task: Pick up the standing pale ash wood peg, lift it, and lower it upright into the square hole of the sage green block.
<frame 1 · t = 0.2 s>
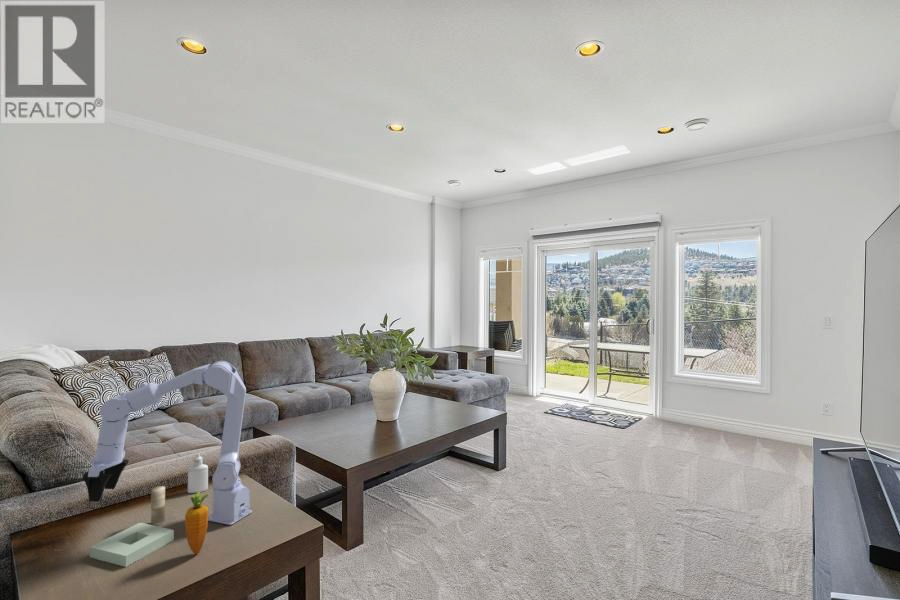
hand: (102, 494, 112), 11 cm above the table, tool pointing down, fingers open, 7 cm apart
hole block: (133, 548, 106), on the table
eye dropper bottle: (197, 491, 139), on the table
carrot: (196, 555, 104), on the table
ash wood peg: (157, 522, 119), on the table
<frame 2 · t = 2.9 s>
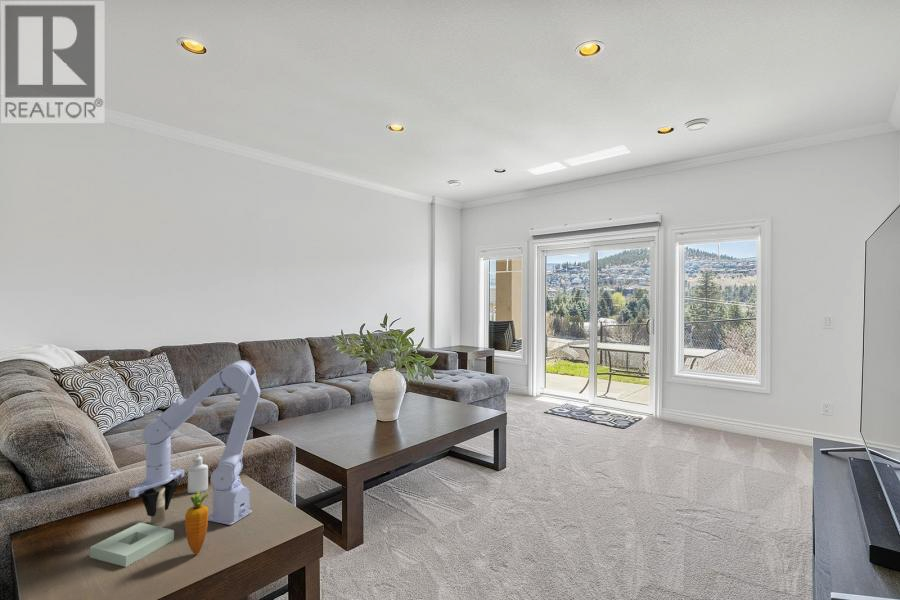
hand: (158, 512, 119), 3 cm above the table, tool pointing down, fingers closed on ash wood peg, 3 cm apart
ash wood peg: (157, 522, 119), on the table, touching gripper
everything else where it was.
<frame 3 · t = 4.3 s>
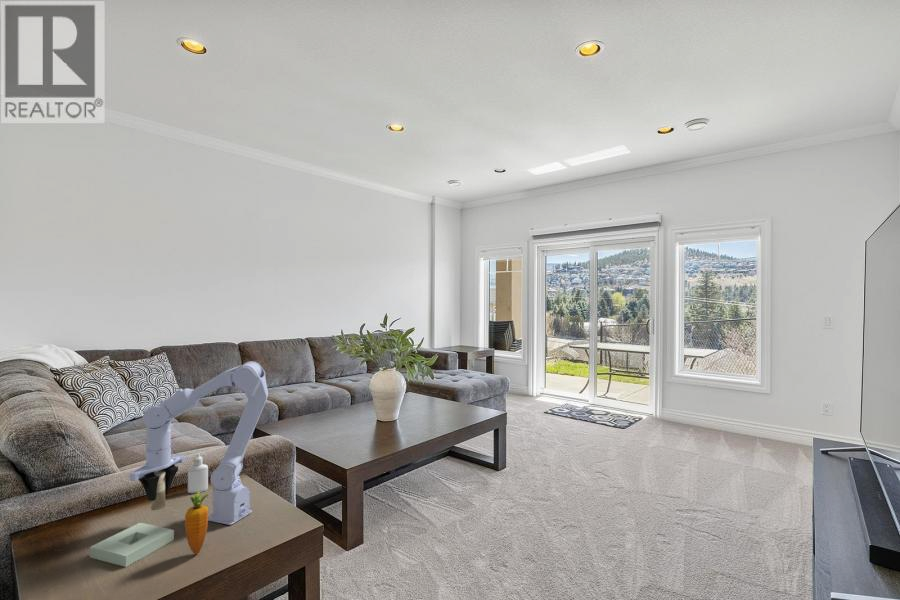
hand: (158, 496, 119), 7 cm above the table, tool pointing down, fingers closed on ash wood peg, 3 cm apart
ash wood peg: (158, 507, 119), point 4 cm above the table, touching gripper
everything else where it was.
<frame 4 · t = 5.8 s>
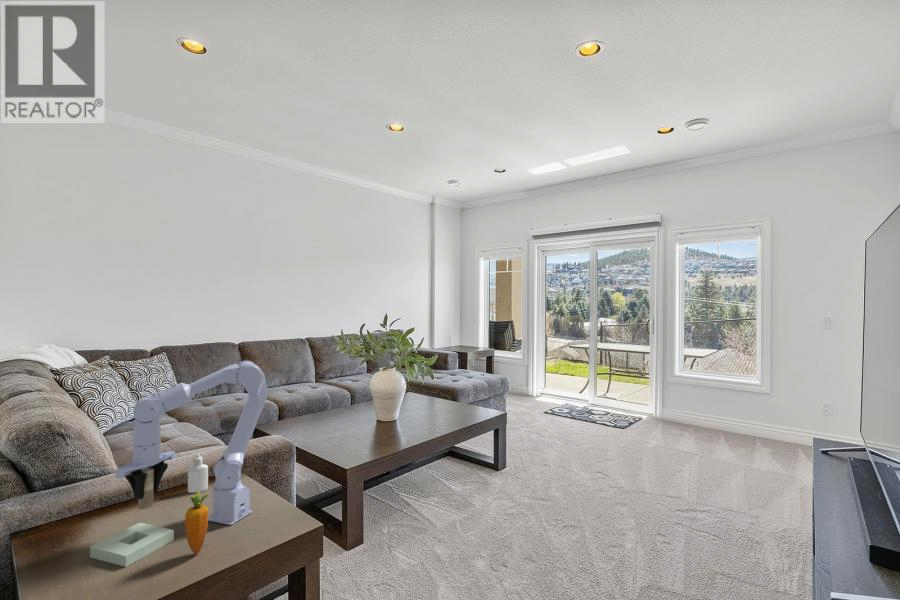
hand: (146, 495, 112), 10 cm above the table, tool pointing down, fingers closed on ash wood peg, 3 cm apart
ash wood peg: (146, 506, 112), point 8 cm above the table, touching gripper
everything else where it was.
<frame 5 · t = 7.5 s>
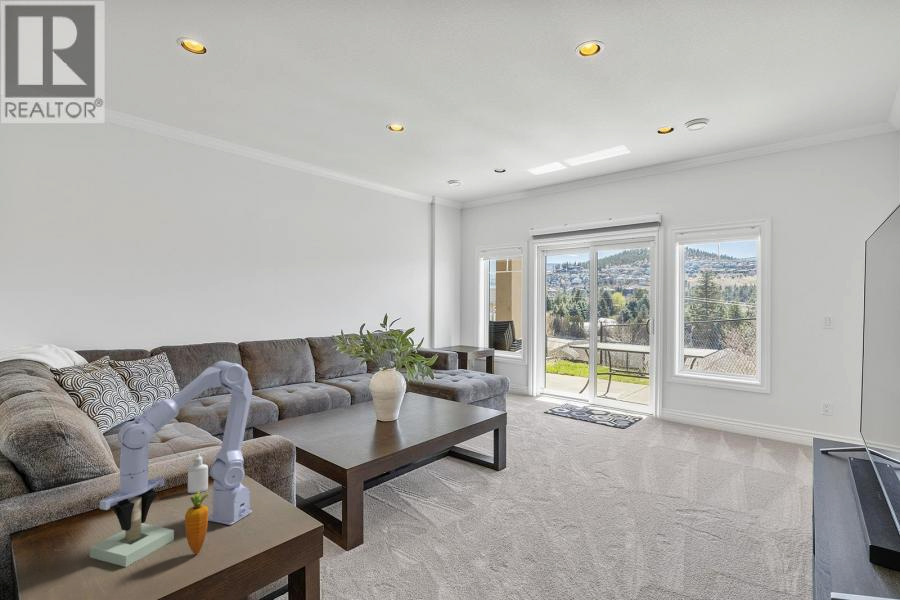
hand: (133, 525, 106), 6 cm above the table, tool pointing down, fingers closed on ash wood peg, 3 cm apart
ash wood peg: (133, 537, 106), point 3 cm above the table, touching gripper
everything else where it was.
when the fingers open (4 cm above the table, at t = 8.9 s): ash wood peg drops 1 cm, resting in hole block.
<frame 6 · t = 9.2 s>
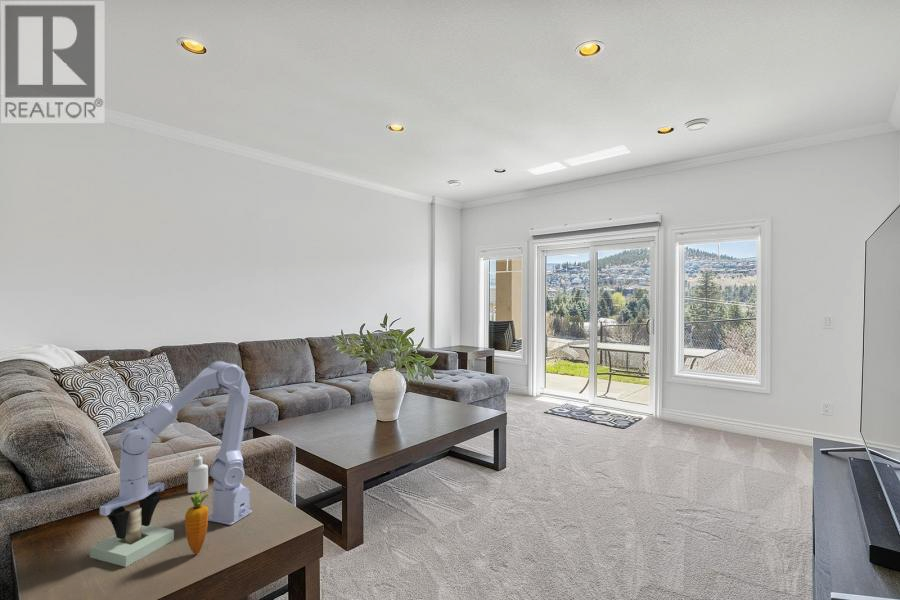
hand: (133, 531, 106), 4 cm above the table, tool pointing down, fingers open, 5 cm apart
ash wood peg: (133, 548, 106), resting in hole block
everything else where it was.
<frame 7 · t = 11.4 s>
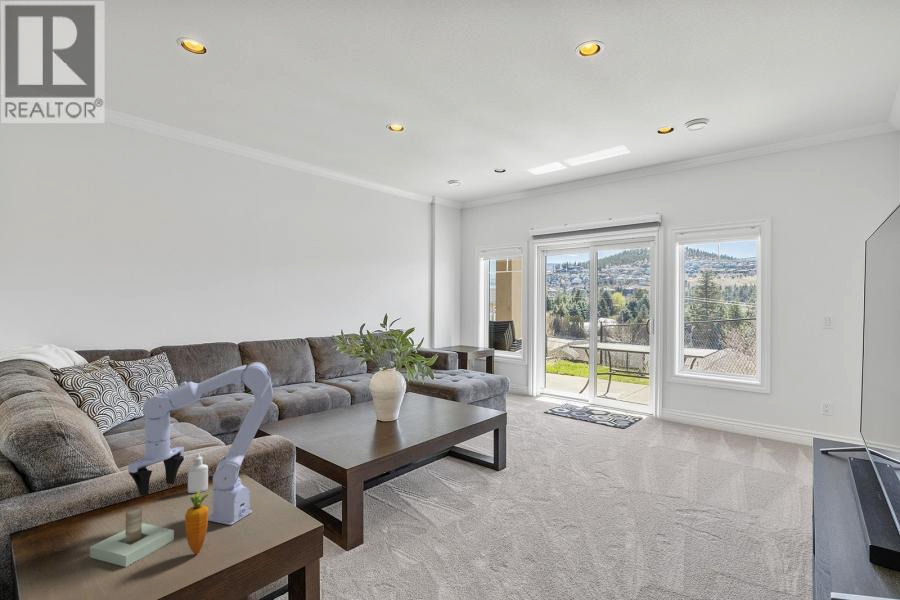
hand: (157, 489, 116), 10 cm above the table, tool pointing down, fingers open, 7 cm apart
nothing on the table moved.
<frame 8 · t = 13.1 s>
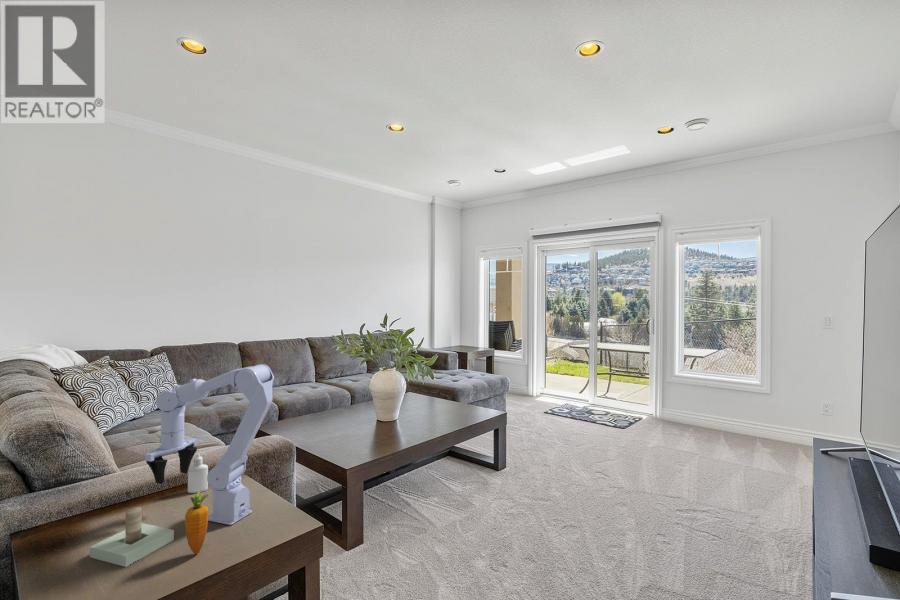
hand: (172, 477, 124), 10 cm above the table, tool pointing down, fingers open, 7 cm apart
nothing on the table moved.
at the end: ash wood peg 0.0 cm off-centre on the hole block, point 0.0 cm above the hole block's base; ash wood peg tilted 0°; the gripper is holding nothing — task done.
